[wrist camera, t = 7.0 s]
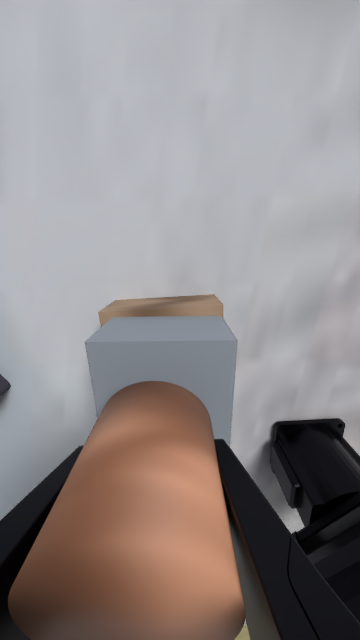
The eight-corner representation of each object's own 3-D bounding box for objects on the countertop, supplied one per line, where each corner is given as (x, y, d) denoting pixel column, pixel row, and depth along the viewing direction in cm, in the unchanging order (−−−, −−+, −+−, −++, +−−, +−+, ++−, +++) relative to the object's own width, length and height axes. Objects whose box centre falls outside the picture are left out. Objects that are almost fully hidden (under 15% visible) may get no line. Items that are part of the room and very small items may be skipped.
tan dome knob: (210, 377, 8) (249, 540, 4) (212, 467, 10) (242, 667, 5) (89, 384, 8) (-30, 550, 4) (110, 472, 10) (44, 672, 5)
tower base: (213, 293, 17) (223, 304, 13) (214, 377, 19) (222, 408, 15) (117, 299, 17) (98, 311, 13) (130, 382, 19) (117, 413, 15)
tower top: (221, 315, 13) (237, 339, 9) (217, 405, 15) (228, 455, 11) (112, 317, 13) (84, 341, 9) (123, 406, 15) (104, 456, 11)
